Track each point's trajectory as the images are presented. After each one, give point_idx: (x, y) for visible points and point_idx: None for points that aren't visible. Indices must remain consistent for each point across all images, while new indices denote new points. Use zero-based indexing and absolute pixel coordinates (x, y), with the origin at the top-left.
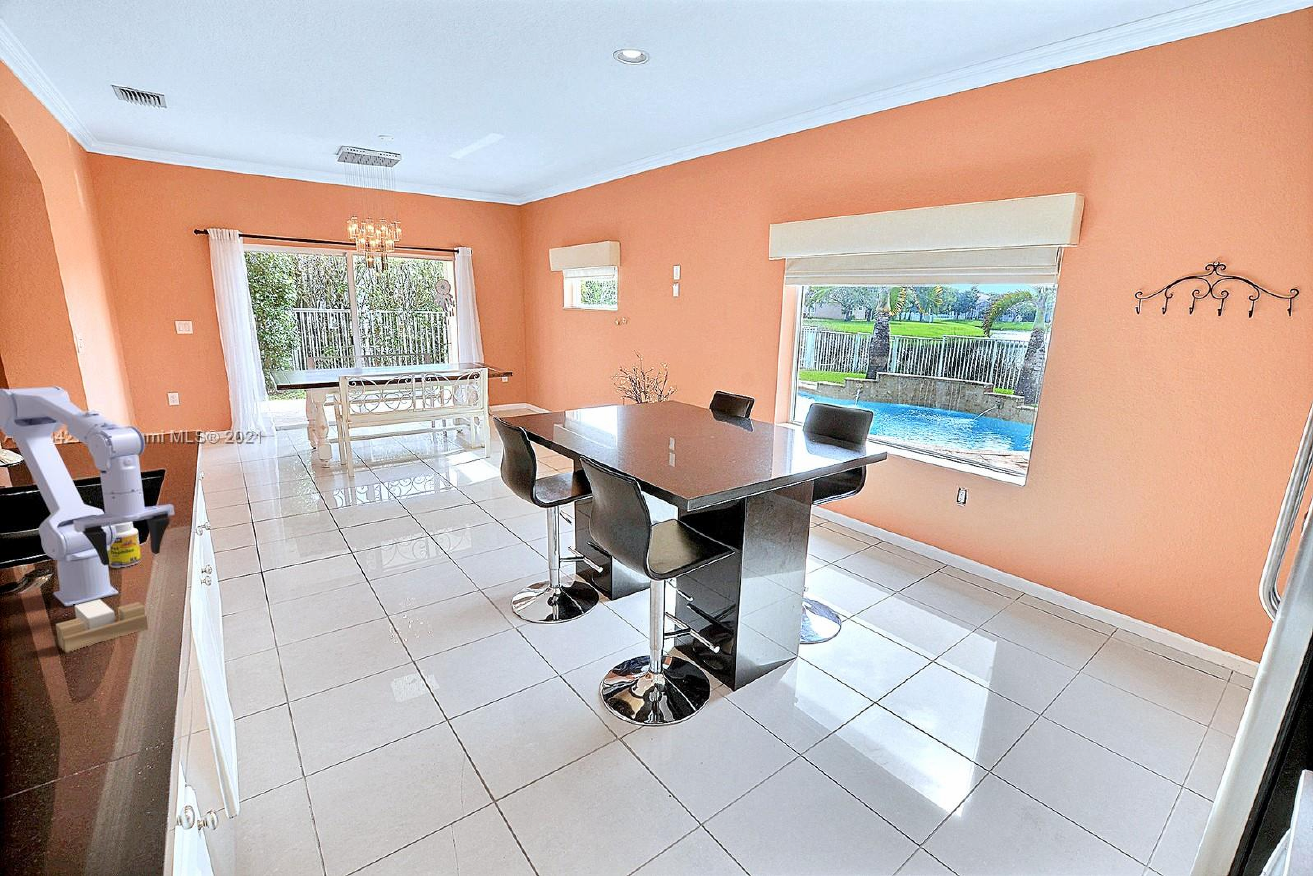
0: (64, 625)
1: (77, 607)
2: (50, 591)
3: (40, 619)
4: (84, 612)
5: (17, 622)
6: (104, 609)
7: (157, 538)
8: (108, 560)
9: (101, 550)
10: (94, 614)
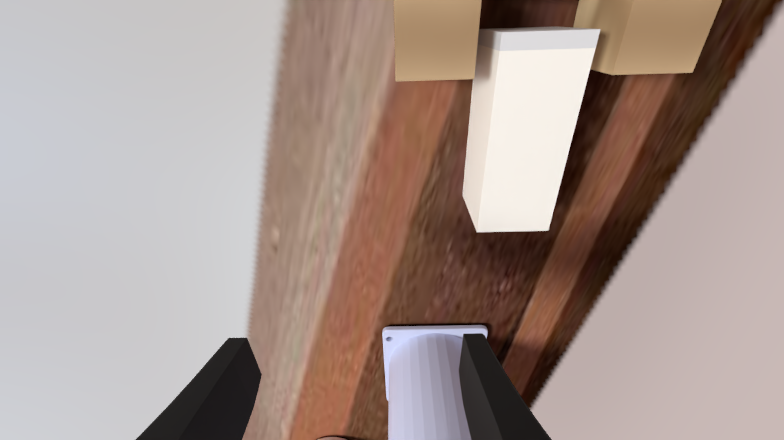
0: (693, 20)
1: (552, 205)
2: None
3: (547, 295)
4: (567, 131)
5: (580, 310)
6: (512, 104)
7: (168, 438)
8: (473, 351)
9: (532, 429)
10: (560, 70)
